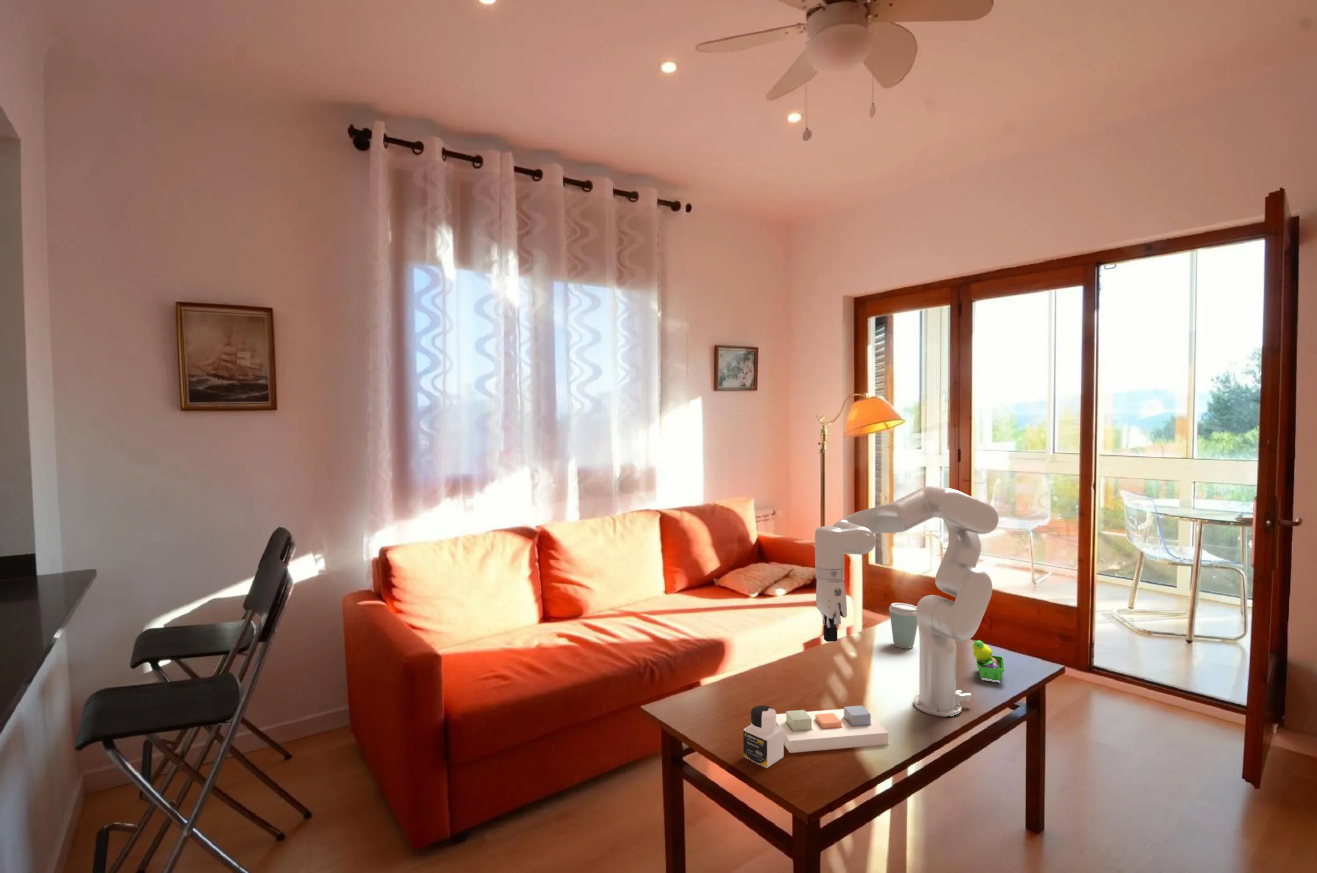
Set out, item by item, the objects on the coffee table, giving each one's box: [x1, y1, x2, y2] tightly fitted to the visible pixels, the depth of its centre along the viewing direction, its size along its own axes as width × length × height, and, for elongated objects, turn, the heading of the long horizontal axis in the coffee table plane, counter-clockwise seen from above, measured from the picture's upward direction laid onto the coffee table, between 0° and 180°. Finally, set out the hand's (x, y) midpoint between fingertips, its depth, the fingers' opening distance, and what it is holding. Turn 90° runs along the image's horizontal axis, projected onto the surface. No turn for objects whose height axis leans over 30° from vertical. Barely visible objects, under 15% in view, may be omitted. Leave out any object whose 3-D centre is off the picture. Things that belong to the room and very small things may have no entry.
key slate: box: [843, 705, 872, 727], centre depth 165 cm, size 5×5×4 cm
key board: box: [776, 708, 889, 754], centre depth 164 cm, size 26×14×3 cm, turn 98°
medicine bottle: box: [742, 705, 785, 769], centre depth 154 cm, size 7×7×12 cm
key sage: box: [785, 709, 812, 732], centre depth 163 cm, size 5×5×4 cm
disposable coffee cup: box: [888, 602, 918, 649], centre depth 227 cm, size 11×11×15 cm
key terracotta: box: [815, 713, 841, 729], centre depth 164 cm, size 5×5×4 cm
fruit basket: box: [972, 640, 1005, 682], centre depth 200 cm, size 11×9×11 cm
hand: (830, 640), depth 170 cm, fingers closed
